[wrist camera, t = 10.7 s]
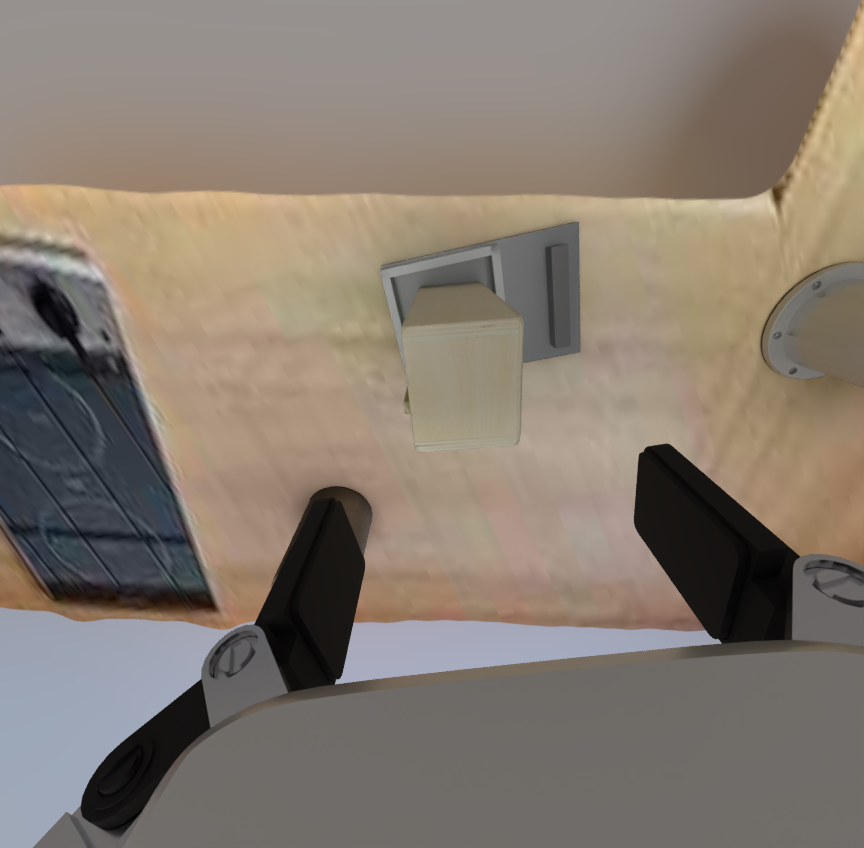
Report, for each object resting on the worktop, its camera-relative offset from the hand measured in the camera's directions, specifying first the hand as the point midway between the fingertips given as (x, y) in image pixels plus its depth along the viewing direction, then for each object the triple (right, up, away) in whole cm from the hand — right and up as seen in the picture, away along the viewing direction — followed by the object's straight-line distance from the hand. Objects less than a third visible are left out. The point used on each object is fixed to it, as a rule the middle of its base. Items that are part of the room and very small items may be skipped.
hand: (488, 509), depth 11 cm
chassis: (+4, +15, +28) cm, 32 cm away
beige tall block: (0, +14, +28) cm, 31 cm away
